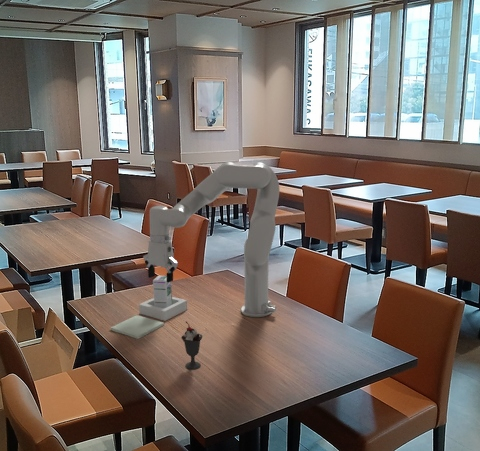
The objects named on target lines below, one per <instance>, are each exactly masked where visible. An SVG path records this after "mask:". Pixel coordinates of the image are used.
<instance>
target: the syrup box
mask: <svg viewBox="0 0 480 451" xmlns="http://www.w3.org/2000/svg"><path fill="white" fill-rule="evenodd" d="M152 288H153V298H154V306H157V307H160V308H164V309H165V308H167V307H169V306H171V305H172V297H173V293H172V292H173V290H172V281H171V282H169V283H168V282H167V275H157V276H156V277H155V278H154V279H152Z"/></svg>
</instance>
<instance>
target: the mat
mask: <svg viewBox="0 0 480 451" xmlns="http://www.w3.org/2000/svg"><path fill="white" fill-rule="evenodd" d="M164 325H165V323H164V321H163V322H162V321H160V320H156V319H153V318H151V317H150V318H149V317H145V316H144V315H143V316H142V315H140V314H136V315H134V316H132V317H130V318H128V319H126V320H123V321H121V322H120V323H118V324H115V325H113V326H111V327H110V330H111V331H113V332H116V333H118V334H123V335H126V336H128V337H132V338H135V339H137V340H139V339H141V338H143V337H144V336H146V335H148V334H151V333H152V332H154V331H156V330H158V329H159V328H161V327H164Z"/></svg>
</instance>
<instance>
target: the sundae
mask: <svg viewBox="0 0 480 451" xmlns="http://www.w3.org/2000/svg"><path fill="white" fill-rule="evenodd" d="M185 323H186V324H187V328H186V330H185V332H184V333H183V335H182V336H181V340H182V341H183V343H184V348H185V352H186V354H187V355H188V356H189V357H190V361H189V362H187V363H186V364H185V368H186V369H187V370H197V369H200V367H201V363H200V362H198V361H196V360H195V358H196V356H198V354H199V352H200V345H201V340H202V338H203V335H202V334H200V333H199V332H197V330H196V329H195V328H192V327H190V323H188V321H185Z"/></svg>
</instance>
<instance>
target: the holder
mask: <svg viewBox="0 0 480 451" xmlns="http://www.w3.org/2000/svg"><path fill="white" fill-rule="evenodd" d="M138 305H139V306H138V307H139V308H138V310H139V315H143V316H147V317H150V318H152V319H153V318H154V319H158V320H159V321H160V320H161V321H163V322H164V321H165V322H166V321H168V320H170V319H171V318H174V317H175V316H177V315H179V314H181V313H184V312H185V311H187V310H188V300H187V299H183V298H178V297H175V296H172V305H171V306H169V307H167V308H165V309H164V308H160V307H157V306H154V297H152V298H150V299H147V300H146V301H143V302H141V303H139V304H138Z"/></svg>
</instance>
